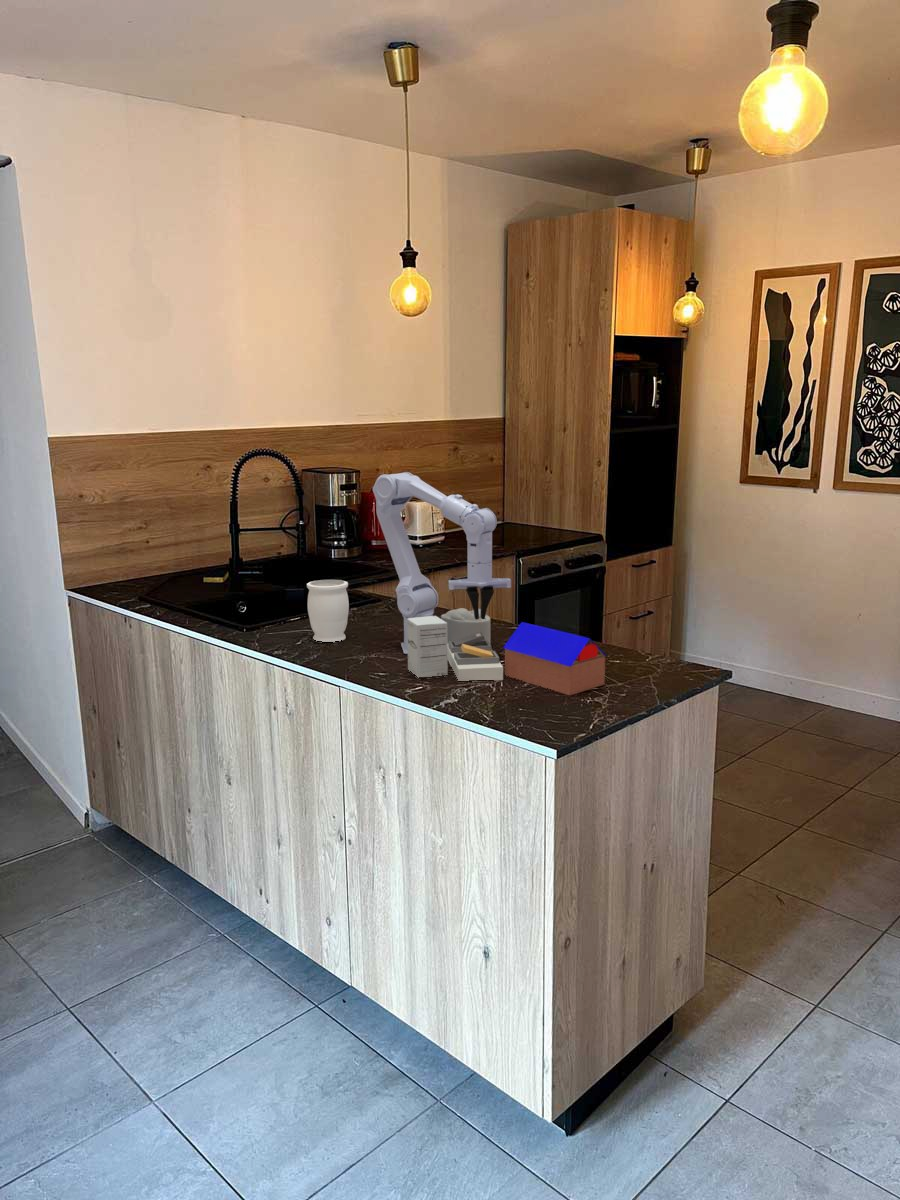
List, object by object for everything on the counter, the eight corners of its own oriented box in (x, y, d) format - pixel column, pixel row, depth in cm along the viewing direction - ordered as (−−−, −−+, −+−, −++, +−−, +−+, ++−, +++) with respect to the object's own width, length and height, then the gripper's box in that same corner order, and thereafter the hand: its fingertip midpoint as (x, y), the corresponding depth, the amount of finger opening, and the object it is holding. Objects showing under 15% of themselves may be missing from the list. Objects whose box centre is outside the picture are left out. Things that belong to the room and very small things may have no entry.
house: (539, 666, 215) (539, 617, 212) (606, 685, 200) (608, 633, 198) (502, 676, 207) (503, 626, 205) (569, 697, 193) (571, 643, 190)
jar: (302, 643, 236) (300, 585, 233) (317, 633, 246) (315, 578, 242) (341, 645, 233) (339, 587, 230) (355, 635, 243) (353, 579, 240)
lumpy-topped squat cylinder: (464, 635, 243) (464, 603, 241) (500, 644, 233) (500, 611, 232) (435, 643, 235) (435, 610, 234) (471, 652, 226) (471, 618, 224)
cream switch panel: (445, 655, 224) (445, 638, 223) (486, 653, 225) (486, 636, 224) (458, 682, 202) (458, 663, 202) (503, 680, 204) (503, 661, 203)
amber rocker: (460, 647, 209) (462, 643, 209) (489, 655, 210) (490, 651, 210) (463, 651, 206) (464, 647, 205) (492, 659, 207) (493, 655, 207)
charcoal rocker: (454, 645, 219) (453, 641, 219) (482, 635, 220) (480, 631, 219) (456, 649, 216) (455, 645, 215) (484, 639, 216) (483, 635, 216)
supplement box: (407, 671, 211) (406, 617, 208) (437, 667, 214) (436, 614, 211) (417, 680, 204) (416, 624, 202) (448, 676, 207) (448, 621, 204)
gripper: (451, 565, 209) (451, 623, 212) (513, 563, 211) (513, 621, 214) (447, 560, 216) (447, 616, 219) (507, 558, 218) (507, 614, 221)
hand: (479, 618), depth 217 cm, fingers closed
